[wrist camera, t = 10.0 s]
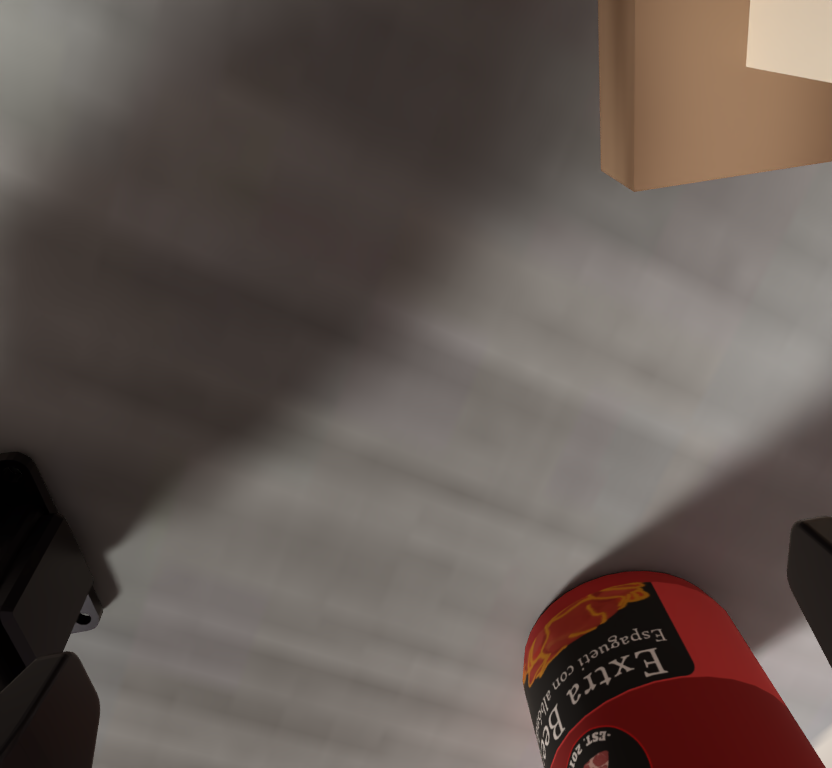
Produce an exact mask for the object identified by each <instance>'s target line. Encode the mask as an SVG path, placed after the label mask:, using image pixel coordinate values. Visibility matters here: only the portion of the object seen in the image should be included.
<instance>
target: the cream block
mask: <svg viewBox="0 0 832 768" xmlns="http://www.w3.org/2000/svg"><path fill="white" fill-rule="evenodd" d="M746 67H750V68H755V69H761V70H766V71H771V72H776V73H782V74H787V75H792V76H798V77H803V78H808V79H813V80H819V81H824V82H829V83H832V0H750V11H749V27H748V43H747V58H746Z"/></svg>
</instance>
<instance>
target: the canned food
mask: <svg viewBox="0 0 832 768" xmlns="http://www.w3.org/2000/svg"><path fill="white" fill-rule="evenodd" d="M523 685H524V690H525V695H526V699H527V703H528V707H529V710H530V714H531V718H532V722H533V726H534V730H535V734H536V738H537V742H538V746H539V749H540V753H541V757H542V761H543V765H544V768H826V767H825V766H824V764H823V763H822V761H821V760H820V758H819V757H818V755H817V754H816V752H815V750H814V749H813V747H812V745H811V744H810V742H809V741H808V739H807V738H806V736H805V734H804V733H803V731H802V730H801V728H800V727H799V725H798V723H797V722H796V720H795V719H794V717H793V716H792V714H791V713H790V711H789V709H788V708H787V706H786V705H785V703H784V702H783V700H782V698H781V697H780V695H779V694H778V692H777V691H776V689H775V687H774V686H773V684H772V683H771V681H770V680H769V678H768V676H767V675H766V673H765V672H764V670H763V669H762V667H761V665H760V664H759V662H758V661H757V659H756V658H755V656H754V654H753V653H752V651H751V650H750V648H749V647H748V645H747V643H746V642H745V640H744V639H743V637H742V636H741V634H740V633H739V631H738V629H737V628H736V626H735V625H734V623H733V622H732V620H731V618H730V617H729V615H728V614H727V612H726V611H725V610H724V609H723V608H722V607H721V606H720V605H719V604H718V603H716V602H715V601H714V600H713V599H712V598H711V597H709V596H708V595H707V594H706V593H704V592H703V591H702V590H701V589H700V588H698V587H697V586H695V585H693V584H691V583H689V582H688V581H686V580H684V579H681V578H678V577H675V576H672V575H669V574H666V573H658V572H650V571H630V572H621V573H616V574H611V575H606V576H603V577H600V578H597V579H594V580H591V581H588V582H586V583H584V584H582V585H580V586H578V587H576V588H574V589H572V590H571V591H569V592H567V593H566V594H564V595H563V596H562V597H560V598H559V599H558V600H556V601H555V602H554V603H553V604H551V605H550V607H549V608H548V609H547V610H546V611H545V612H544V613H543V614H542V615H541V616H540V617H539V619H538V621H537V622H536V624H535V626H534V627H533V629H532V631H531V632H530V635H529V638H528V641H527V644H526V647H525V657H524V669H523Z"/></svg>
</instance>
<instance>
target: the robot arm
mask: <svg viewBox="0 0 832 768" xmlns="http://www.w3.org/2000/svg"><path fill="white" fill-rule="evenodd" d="M9 467H14V468H16V469H18V470H19V471H20V472H21V474H15V473H13V472H11V470H10V469H9ZM787 577H788V582H789V585H790V588H791V591H792V593H793V595H794V597H795V598H796V600H797V602H798V604H799V606H800V608H801V610H802V612H803V614H804V616H805V618H806V620H807V622H808V623H809V625H810V627H811V629H812V631H813V633H814V635H815V637H816V639H817V641H818V643H819V645H820V646H821V648H822V650H823V652H824V654H825V656H826V658H827V660H828V662H829V664H830V666H831V668H832V517H829V516H821V517H815V518H810V519H804V520H799V521H797V522H795V523H794V524H793V526H792V528H791V534H790V544H789V554H788V565H787ZM92 584H93V577H92V575H91V573H90V571H89V568H88V566H87V564H86V562H85V560H84V558H83V555H82V553H81V551H80V549H79V547H78V545H77V543H76V540H75V538H74V536H73V534H72V532H71V530H70V527H69V525H68V523H67V521H66V519H65V518H64V517H63V516H61V515H60V514H59V513H58V511H57V509H56V507H55V505H54V503H53V501H52V499H51V496H50V494H49V492H48V490H47V488H46V486H45V484H44V482H43V479H42V477H41V475H40V473H39V471H38V469H37V467H36V464H35V463H34V461H33V460H32V459H31V458H30V457H28V456H27V455H26V454H23V453H19V452H9V453H3V454H0V768H92V764H93V757H94V751H95V744H96V738H97V731H98V725H99V718H100V702H99V698H98V695H97V692H96V690H95V688H94V686H93V685H92V683H91V681H90V679H89V677H88V675H87V673H86V671H85V669H84V667H83V665H82V663H81V661H80V659H79V658H78V656H77V655H76V654H75V653H73V652H68V651H66V652H63V650H64V648H65V646H66V643H67V641H68V639H69V637H70V634H71V633H77V632H82V631H88V630H91V629H94V628H95V627H96V626H97V625H98V623H99V621H100V618H101V616H102V613H103V609H102V606H101V603H100V601H99V599H98V597H97V595H96V593H95V591H94V588H93V586H92ZM81 613H86V614H88V615H89V616H85V615H82V614H81Z"/></svg>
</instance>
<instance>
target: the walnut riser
mask: <svg viewBox="0 0 832 768" xmlns="http://www.w3.org/2000/svg"><path fill="white" fill-rule="evenodd" d="M749 11H750V0H598V25H599V82H600V139H601V171H603V172H604V173H606V174H607V175H609V176H611V177H612V178H614V179H615V180H617V181H618V182H620V183H621V184H623V185H624V186H626V187H627V188H629V189H631V190H632V191H634V192H636V191H642V190H649V189H655V188H662V187H668V186H675V185H681V184H688V183H694V182H701V181H707V180H714V179H720V178H727V177H733V176H739V175H746V174H752V173H759V172H765V171H772V170H778V169H785V168H791V167H798V166H804V165H811V164H817V163H824V162H830V161H832V83H829V82H824V81H819V80H813V79H808V78H803V77H798V76H792V75H787V74H782V73H776V72H771V71H766V70H761V69H755V68H750V67H746V58H747V43H748V27H749Z"/></svg>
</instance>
